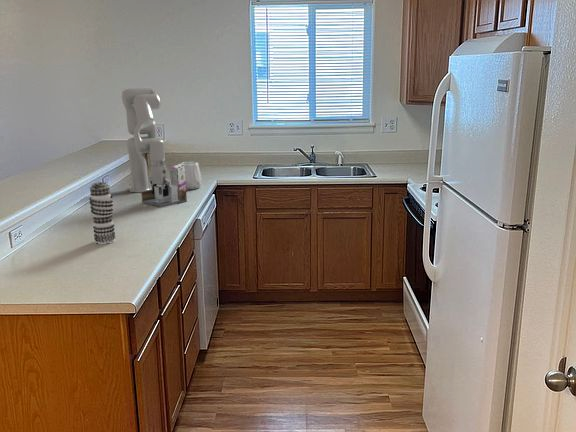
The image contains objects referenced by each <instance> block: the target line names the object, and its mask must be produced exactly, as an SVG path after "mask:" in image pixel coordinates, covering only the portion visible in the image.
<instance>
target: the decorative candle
mask: <svg viewBox="0 0 576 432" xmlns="http://www.w3.org/2000/svg"><path fill="white" fill-rule="evenodd" d="M110 187H111V186H110V185H109V184H108V183H107V182H103V181H101V182H100V181H98V182H94V183H92V184H91V186H89V189H90V196H89V197H88V200H89V204H90V207H89V208H90V209H91V210H90V213H91V216H92V218H93V220H92V221H93V222H92V223H93V226H92V228H93V232H94V234H93V237H94V238H93V239H94V244H96V243H98V244H97V245H107V244H106V243H110V244H113V243H115V242H116V231H115V224H114V220H113V215H114V209H113V208H112V207H113V206H114V204H112V203H113V202H114V201H113V200H111V199H112V198H113V195H111V192H110V191H111V190H110ZM114 241H115V242H114ZM112 242H113V243H112Z"/></svg>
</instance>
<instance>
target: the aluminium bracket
mask: <svg viewBox="0 0 576 432" xmlns="http://www.w3.org/2000/svg"><path fill="white" fill-rule="evenodd" d="M164 186H165V185H164ZM154 190H155V201H157V202H162V201H167V200H168V201H176V200H178V192H177V185H172V184H171V183H170V184H169V189H168V192H169V196H165V197H164V196H163V187H162V185H157V186H154Z"/></svg>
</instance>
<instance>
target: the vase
mask: <svg viewBox="0 0 576 432" xmlns="http://www.w3.org/2000/svg"><path fill="white" fill-rule="evenodd" d="M180 164H184V165H185V178H186V190H188V189H192V190H196V189H197V188H198V189H199V188H200V187H201V186H202V183H203V179H202V175H201V174H202V173H201V170H200V165H199V162H197V161H183V162H180Z"/></svg>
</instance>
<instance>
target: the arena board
mask: <svg viewBox="0 0 576 432" xmlns="http://www.w3.org/2000/svg"><path fill="white" fill-rule="evenodd" d="M141 201H142V200H141ZM187 202H188V199H187V200H183V199H179V198H178V200H176V201H168V200H167V201H162V202H157V201H155V199H151V200H146V201H142V204H147V205H150V206H153V207H159V208H163V207H169V206H173V205H177V204H183V203H187Z"/></svg>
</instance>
